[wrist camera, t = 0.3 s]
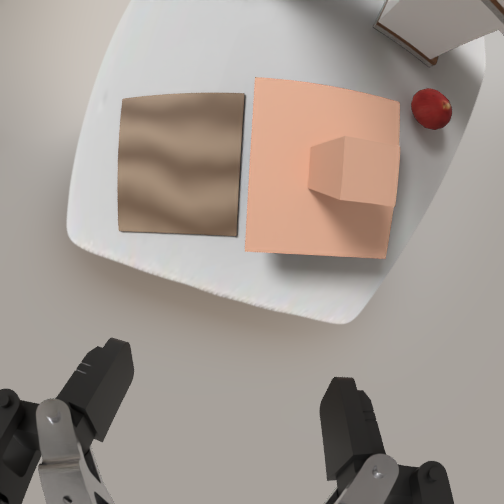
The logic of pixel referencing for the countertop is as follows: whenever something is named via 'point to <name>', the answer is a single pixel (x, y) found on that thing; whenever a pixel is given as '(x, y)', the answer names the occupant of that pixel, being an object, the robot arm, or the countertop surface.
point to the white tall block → (438, 24)
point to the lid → (321, 170)
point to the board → (180, 163)
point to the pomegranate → (431, 108)
